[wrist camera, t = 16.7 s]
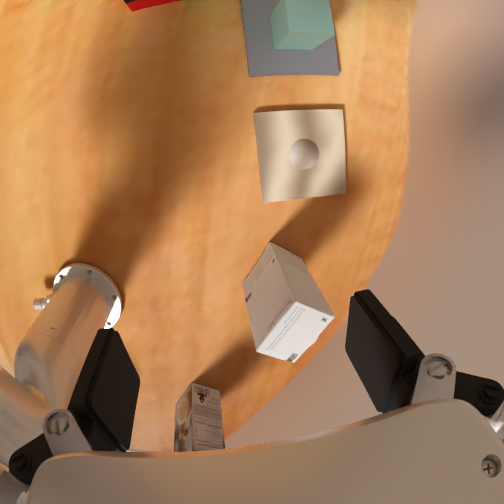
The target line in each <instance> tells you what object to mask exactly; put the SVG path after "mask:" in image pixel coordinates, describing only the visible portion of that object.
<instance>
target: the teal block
mask: <svg viewBox="0 0 504 504" xmlns="http://www.w3.org/2000/svg"><path fill="white" fill-rule="evenodd" d="M270 20H271V28H272V36H273V44H274V50H275V49H295V50H312V49H314V48H315V47H317V46H318V45H320V44H321V43H323V42H325V41H326V40H328V39H329V38H331V37H332V36H334V35H335V31H334V25H333V18H332V12H331V6H330V1H329V0H280V1H279V3H278V5H277V6H276V8H275V10H274V11H273V13H272V15H271V16H270Z"/></svg>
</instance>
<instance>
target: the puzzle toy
mask: <svg viewBox="0 0 504 504" xmlns="http://www.w3.org/2000/svg"><path fill="white" fill-rule="evenodd" d="M124 1H125V3H126V4H127V5H128V7H129V8H130V9H131V11H136V10H139V9H143V8H147V7H152V6H156V5H160V4H165V3H170V2H175V1H181V0H124Z"/></svg>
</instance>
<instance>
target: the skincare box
mask: <svg viewBox="0 0 504 504" xmlns="http://www.w3.org/2000/svg"><path fill="white" fill-rule="evenodd" d="M242 285H243V290H244V295H245V300H246V305H247V309H248V314H249V319H250V324H251V328H252V333H253V338H254V343H255V347H256V352H259V353H262V354H265V355H268V356H272V357H275V358H279V359H282V360H286V361H290V362H293V363H294V362H295V361H296V360H297V359H298V358H299V357H300V356H301V355H302V353H303V352H304V351H305V350H306V349H307V348H308V347H310V346H311V345H312V344H313V343H314V342H315V341H316V340H317V338H318V336H319V334H320V333H321V332H322V331H323V330H324V329H325V327H326V326H327V325H328V324H329V323H330V322H331V321H332V320H333V319H334V317H335V315H334V313H333V312H332V310H331V308H330V307H329V305H328V303H327V301H326V300H325V298H324V296H323V295H322V293H321V291H320V289H319V288H318V286H317V284H316V283H315V281H314V279H313V278H312V276H311V274H310V273H309V271H308V269H307V267H306V266H305V264H304V262H303V261H302V259H301V258H300V257H299V256H297V255H295V254H293V253H291V252H289V251H287V250H285V249H283V248H282V247H280V246H278V245H276V244H274V243H272V242H269V244H268V245H267V247H266V249H265V251H264V252H263V254H262V256H261V257H260V259H259V260H258V262H257V263H256V265H255V266H254V268H253V269H252V271H251V272H250V274H249V275H248V276H247V278H246V279H245V280H244V282H243V284H242Z"/></svg>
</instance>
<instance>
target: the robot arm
mask: <svg viewBox="0 0 504 504" xmlns="http://www.w3.org/2000/svg"><path fill="white" fill-rule="evenodd" d="M33 306H34V308H35V309H36V310H42V311H41V313H40V314H39V316H38V317H37V319H36V320H35V321H34V323H33V324H32V326H31V327H30V329H29V330H28V332H27V333H26V335H25V336H24V338H23V339H22V341H21V342H20V344H19V346H18V348H17V351H16V354H15V361H14V371H15V378H14V377H13V376H12V375H11V374H9V373H8V372H7V371H6V370H5V369H4V368H3V367H2V366H1V365H0V462H1V463H3V464H4V465H5V466H7V467H8V468H9V469H7V468H6V467H5V466H4V465H2V464H1V463H0V504H504V389H503V387H502V386H501V385H500V384H499V383H498V382H496V381H494V380H491V379H487V378H483V377H478V376H474V375H470V374H465V373H462V372H457V371H456V366H455V364H454V362H453V361H452V360H451V359H450V358H449V357H447V356H446V355H443V354H436V353H434V354H429V355H427V356H425V355H424V354H423V353H422V351H421V350H420V349H419V348H418V346H417V345H416V344H415V342H414V341H413V340H412V339H411V338H410V336H409V335H408V334H407V333H406V331H405V330H404V329H403V328H402V326H401V325H400V324H399V323H398V322H397V320H396V319H395V318H394V317H393V316H391V315H390V314H389V312H388V311H387V310H386V309H385V308H384V307H383V305H382V304H381V303H380V302H379V300H378V299H377V298H376V297H375V296H374V294H373V293H372V292H371V291H370V290H369V289H367V290H362V291H357V292H355V293H354V296H352V297H351V298H350V307H349V317H348V327H347V335H346V343H345V349H346V352H347V355H348V357H349V358H350V360H351V362H352V364H353V366H354V368H355V370H356V371H357V373H358V375H359V377H360V379H361V381H362V382H363V385H364V386H365V388H366V390H367V392H368V394H369V396H370V398H371V400H372V402H373V404H374V406H375V407H376V409H377V411H378V412H382V413H383V414H380V415H378V416H374V417H371V418H368V419H365V420H361V421H358V422H355V423H351V424H348V425H345V426H341V427H337V428H334V429H330V430H326V431H323V432H318V433H314V434H310V435H305V436H301V437H296V438H291V439H286V440H281V441H276V442H270V443H264V444H258V445H251V446H244V447H236V448H227V449H217V450H205V451H189V452H126V450H128V449H129V448H130V442H131V435H132V428H133V422H134V415H135V409H136V403H137V398H138V392H139V387H140V378H139V375H138V373H137V371H136V369H135V367H134V365H133V363H132V361H131V359H130V357H129V355H128V353H127V350H126V348H125V346H124V344H123V342H122V339H121V337H120V335H119V333H118V331H114V329H113V328H111V327H112V326H113V325H114V324H115V323H116V322H117V321H118V319H119V317H120V314H121V311H122V298H121V295H120V292H119V290H118V288H117V286H116V284H115V283H114V282H113V280H112V279H111V278H110V277H109V276H108V275H107V274H106V273H104V272H103V271H102V270H100V269H99V268H97V267H95V266H92V265H89V264H85V263H73V264H69V265H67V266H65V267H64V268H63V269H62V270H61V271H60V272H59V273H58V274H57V275H56V277H55V280H54V283H53V293H52V295H48V296H47V298H38V299H34V302H33Z"/></svg>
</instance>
